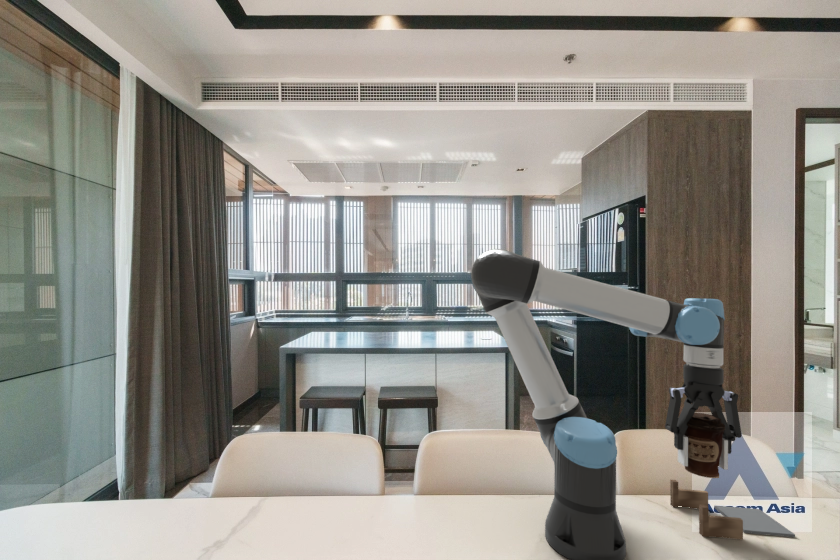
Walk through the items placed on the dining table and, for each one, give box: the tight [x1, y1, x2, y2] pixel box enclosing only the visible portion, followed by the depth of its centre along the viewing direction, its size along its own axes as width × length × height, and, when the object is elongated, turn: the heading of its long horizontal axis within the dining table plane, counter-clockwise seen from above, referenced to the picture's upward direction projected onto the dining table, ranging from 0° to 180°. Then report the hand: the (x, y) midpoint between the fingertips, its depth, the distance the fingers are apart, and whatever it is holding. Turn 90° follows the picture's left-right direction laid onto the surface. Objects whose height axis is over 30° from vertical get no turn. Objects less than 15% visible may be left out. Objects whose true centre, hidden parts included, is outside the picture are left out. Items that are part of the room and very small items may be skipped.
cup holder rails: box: [669, 479, 744, 540], centre depth 88 cm, size 8×13×6 cm, turn 173°
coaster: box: [713, 504, 796, 538], centre depth 88 cm, size 10×10×1 cm
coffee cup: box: [684, 412, 725, 479], centre depth 88 cm, size 9×8×13 cm
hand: (702, 465), depth 88 cm, fingers closed on coffee cup, 8 cm apart
